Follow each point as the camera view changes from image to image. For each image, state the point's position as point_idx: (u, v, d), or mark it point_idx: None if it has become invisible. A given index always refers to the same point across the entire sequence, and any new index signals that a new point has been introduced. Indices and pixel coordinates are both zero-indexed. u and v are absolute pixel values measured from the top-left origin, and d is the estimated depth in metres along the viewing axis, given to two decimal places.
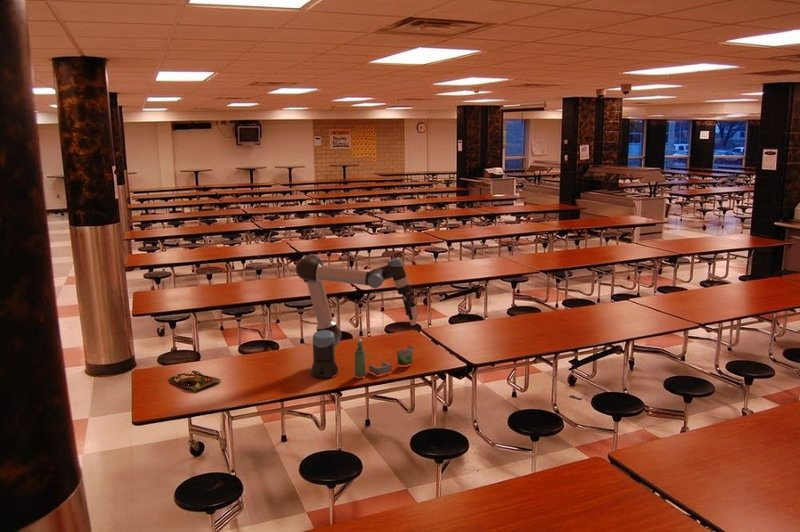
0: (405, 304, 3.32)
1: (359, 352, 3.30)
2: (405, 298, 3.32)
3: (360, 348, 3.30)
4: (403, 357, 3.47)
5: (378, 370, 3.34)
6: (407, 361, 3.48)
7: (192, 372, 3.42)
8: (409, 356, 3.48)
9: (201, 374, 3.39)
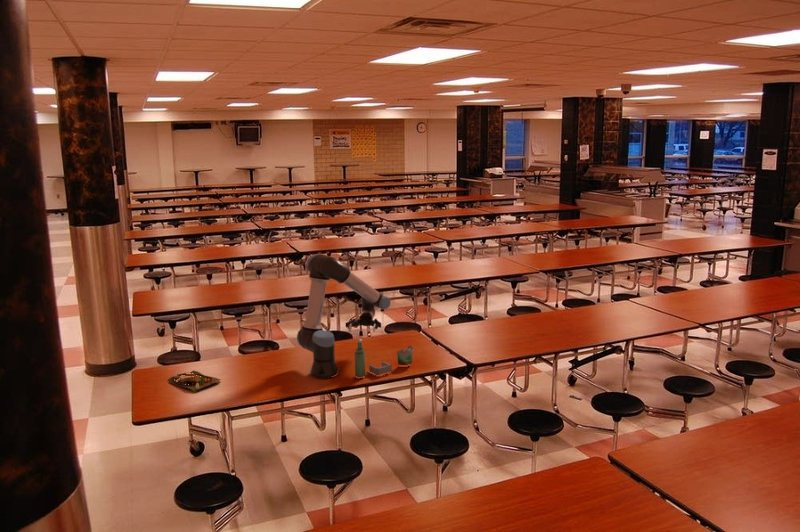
0: None
1: (359, 352, 3.30)
2: None
3: (360, 348, 3.30)
4: (403, 357, 3.47)
5: (378, 370, 3.34)
6: (407, 361, 3.48)
7: (192, 372, 3.42)
8: (409, 356, 3.48)
9: (201, 374, 3.39)
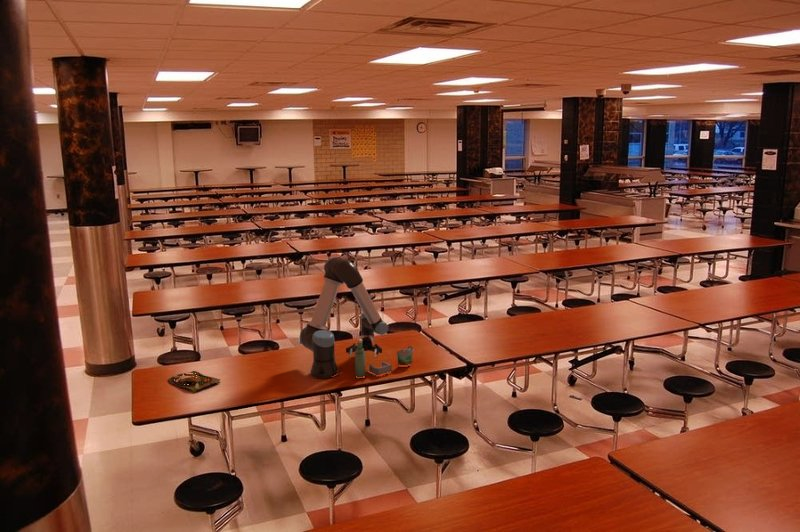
0: None
1: (359, 352, 3.30)
2: None
3: (360, 348, 3.30)
4: (403, 357, 3.47)
5: (378, 370, 3.34)
6: (407, 361, 3.48)
7: (192, 372, 3.42)
8: (409, 356, 3.48)
9: (201, 374, 3.38)
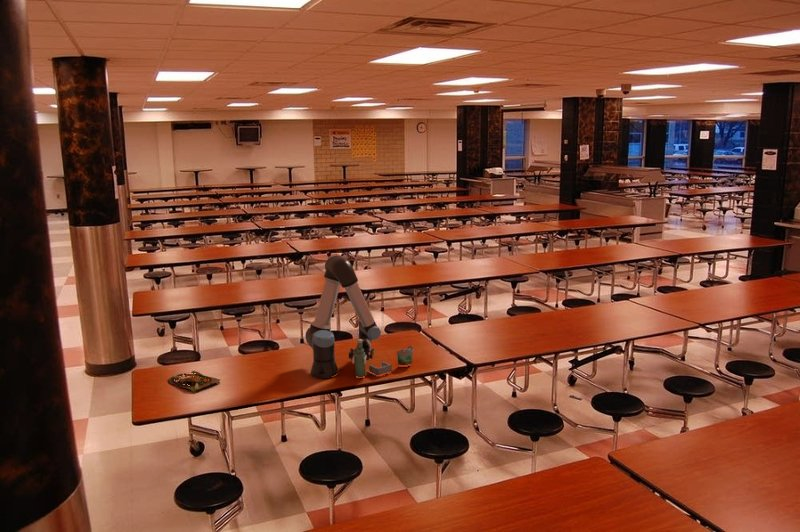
0: (372, 352, 3.39)
1: (359, 352, 3.30)
2: (373, 352, 3.43)
3: (360, 348, 3.30)
4: (403, 357, 3.47)
5: (378, 370, 3.34)
6: (407, 361, 3.48)
7: (192, 372, 3.41)
8: (409, 356, 3.48)
9: (201, 374, 3.38)
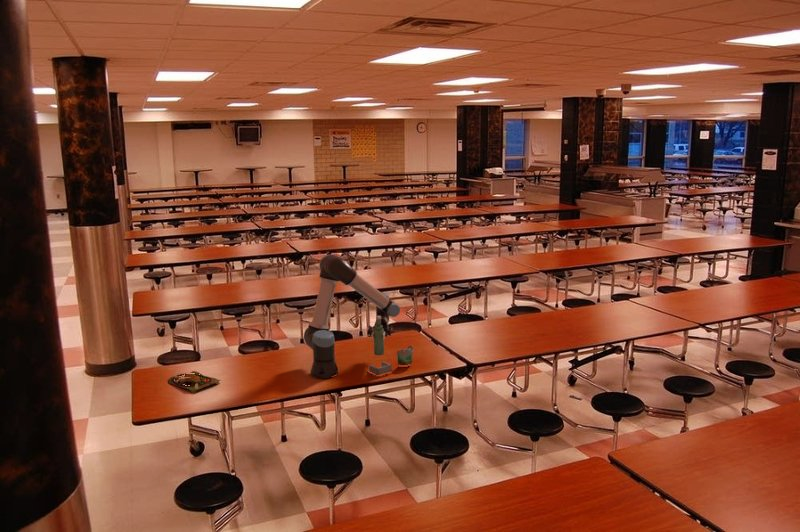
0: (391, 329, 3.43)
1: (378, 328, 3.34)
2: (391, 329, 3.47)
3: (379, 324, 3.34)
4: (403, 357, 3.47)
5: (378, 370, 3.34)
6: (407, 361, 3.48)
7: (192, 372, 3.41)
8: (409, 356, 3.48)
9: (201, 375, 3.38)
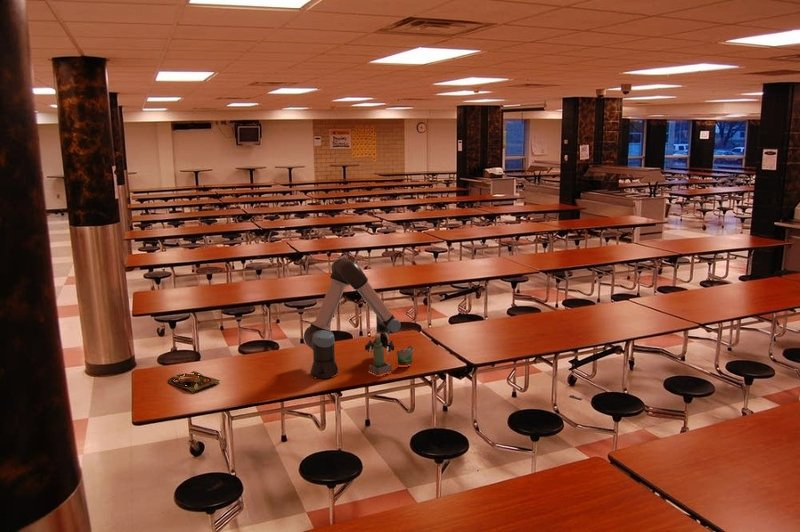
0: (392, 344, 3.46)
1: (377, 346, 3.36)
2: None
3: (378, 343, 3.36)
4: (403, 357, 3.47)
5: (378, 370, 3.34)
6: (407, 361, 3.48)
7: None
8: (409, 356, 3.48)
9: (201, 375, 3.38)
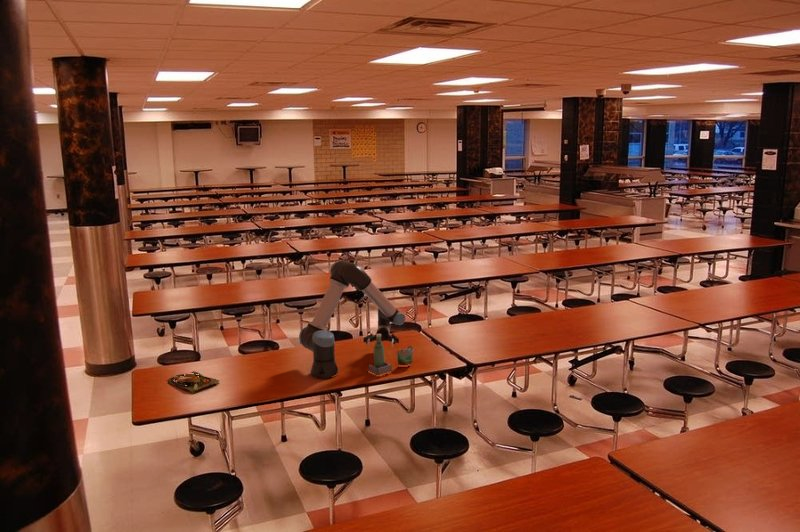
0: None
1: (378, 346, 3.36)
2: None
3: (379, 342, 3.37)
4: (403, 357, 3.47)
5: (378, 370, 3.34)
6: (407, 361, 3.48)
7: None
8: (409, 356, 3.48)
9: (201, 375, 3.37)
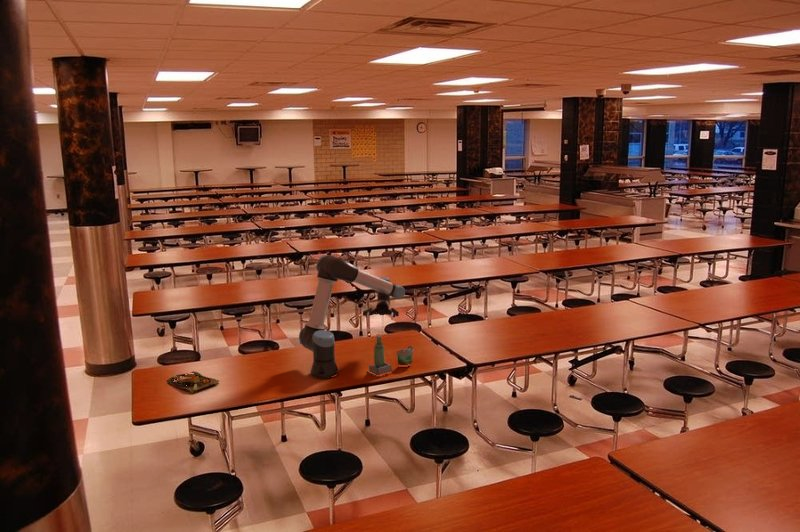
0: None
1: (378, 347, 3.36)
2: None
3: (379, 343, 3.37)
4: (403, 357, 3.47)
5: (378, 370, 3.34)
6: (407, 361, 3.48)
7: None
8: (409, 356, 3.48)
9: (201, 375, 3.37)
